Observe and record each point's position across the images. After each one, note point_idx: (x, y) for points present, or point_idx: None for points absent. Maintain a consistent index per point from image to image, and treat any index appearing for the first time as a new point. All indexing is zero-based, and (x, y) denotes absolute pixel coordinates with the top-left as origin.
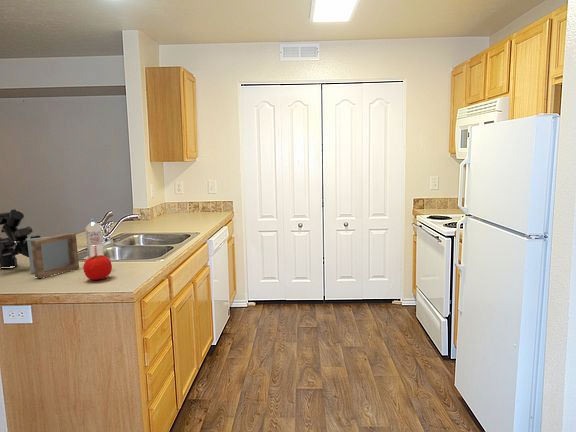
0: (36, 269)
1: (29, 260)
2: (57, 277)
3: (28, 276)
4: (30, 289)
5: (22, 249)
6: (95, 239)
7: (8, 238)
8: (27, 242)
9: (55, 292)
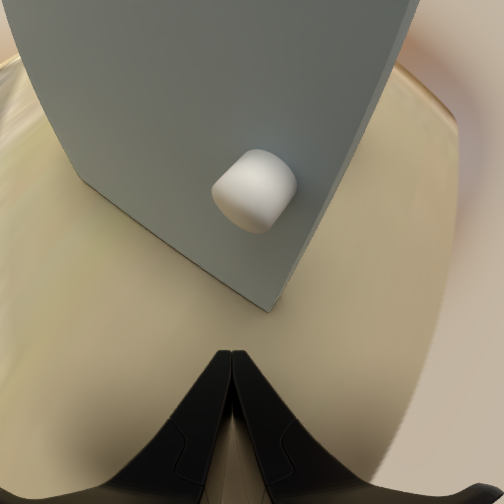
0: None
1: (307, 245)
2: None
3: (331, 239)
4: (395, 86)
5: (323, 451)
6: None
7: None
8: (403, 35)
9: None
